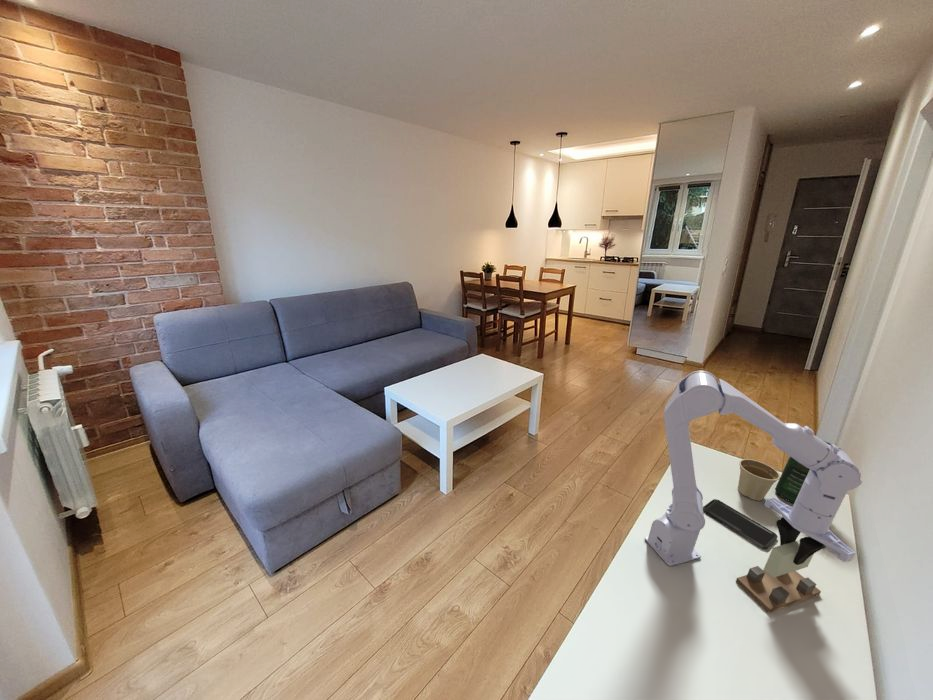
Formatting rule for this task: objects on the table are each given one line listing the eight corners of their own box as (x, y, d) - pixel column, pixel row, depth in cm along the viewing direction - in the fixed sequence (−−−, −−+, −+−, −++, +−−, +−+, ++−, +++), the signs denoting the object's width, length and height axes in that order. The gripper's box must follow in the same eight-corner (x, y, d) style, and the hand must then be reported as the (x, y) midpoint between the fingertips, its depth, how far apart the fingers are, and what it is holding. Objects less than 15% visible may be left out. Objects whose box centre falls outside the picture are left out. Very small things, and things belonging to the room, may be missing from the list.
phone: (715, 498, 103) (779, 535, 91) (714, 501, 103) (777, 538, 92) (701, 508, 99) (766, 548, 87) (700, 511, 99) (764, 552, 87)
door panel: (773, 577, 74) (783, 555, 72) (763, 569, 76) (773, 547, 74) (807, 566, 77) (818, 545, 75) (797, 558, 79) (807, 537, 77)
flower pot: (723, 485, 109) (731, 461, 107) (745, 480, 112) (754, 456, 109) (754, 507, 101) (764, 482, 98) (778, 501, 104) (788, 476, 101)
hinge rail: (768, 612, 73) (774, 600, 72) (735, 581, 79) (740, 569, 78) (819, 594, 77) (825, 582, 76) (784, 566, 84) (789, 554, 82)
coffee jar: (803, 510, 101) (828, 454, 95) (770, 492, 107) (792, 439, 101) (817, 499, 106) (842, 445, 99) (784, 482, 112) (806, 430, 106)
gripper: (877, 530, 65) (846, 584, 70) (790, 478, 78) (769, 526, 83) (851, 538, 63) (821, 593, 68) (766, 483, 76) (746, 532, 81)
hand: (791, 557), depth 75 cm, fingers closed on door panel, 2 cm apart
